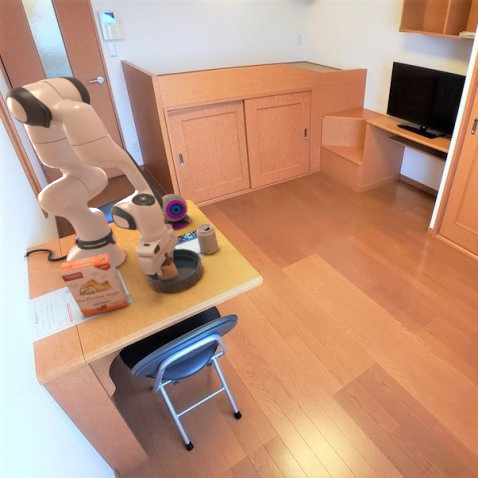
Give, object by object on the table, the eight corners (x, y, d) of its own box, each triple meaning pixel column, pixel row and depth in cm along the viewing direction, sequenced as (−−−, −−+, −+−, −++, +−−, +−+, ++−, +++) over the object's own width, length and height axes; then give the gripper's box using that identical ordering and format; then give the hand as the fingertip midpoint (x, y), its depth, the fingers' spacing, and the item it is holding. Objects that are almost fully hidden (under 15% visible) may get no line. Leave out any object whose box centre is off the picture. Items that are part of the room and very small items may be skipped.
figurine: (168, 268, 139) (161, 243, 132) (182, 273, 136) (175, 249, 129) (154, 279, 133) (146, 254, 126) (169, 284, 131) (160, 260, 124)
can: (213, 256, 150) (209, 233, 143) (197, 254, 151) (192, 231, 144) (221, 246, 156) (217, 223, 149) (205, 244, 157) (200, 221, 150)
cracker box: (84, 318, 122) (58, 273, 109) (85, 306, 126) (61, 261, 114) (128, 306, 126) (108, 262, 114) (128, 295, 131) (109, 251, 118)
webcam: (168, 233, 163) (160, 205, 154) (158, 221, 171) (149, 194, 162) (195, 223, 170) (188, 196, 161) (184, 212, 177) (177, 186, 169)
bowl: (148, 299, 130) (144, 288, 126) (150, 264, 145) (146, 254, 142) (205, 286, 135) (202, 276, 132) (201, 255, 151) (198, 244, 147)
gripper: (161, 220, 132) (170, 249, 141) (132, 254, 116) (144, 285, 124) (177, 222, 132) (185, 251, 140) (150, 256, 115) (160, 286, 124)
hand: (165, 267), depth 132 cm, fingers closed on figurine, 6 cm apart
